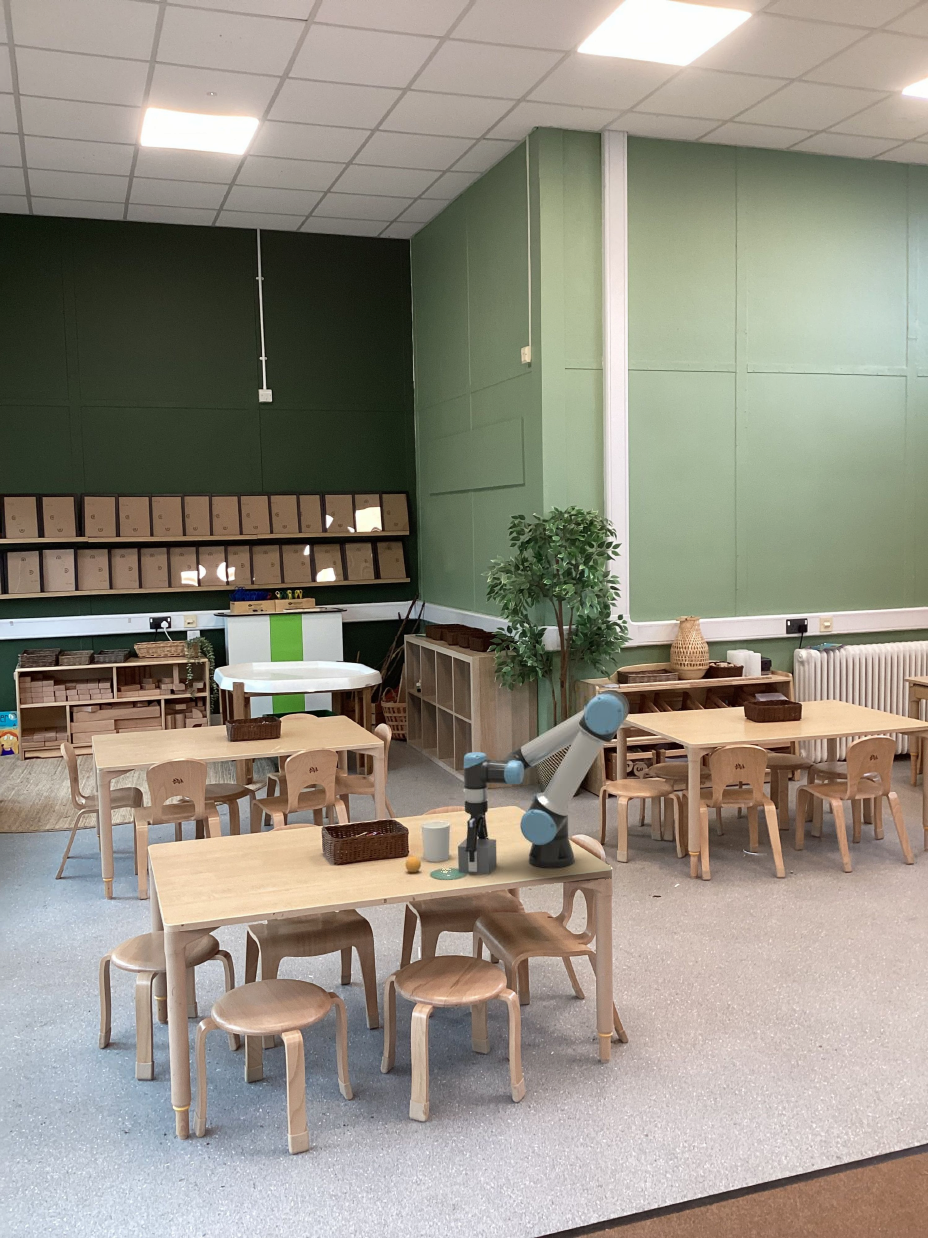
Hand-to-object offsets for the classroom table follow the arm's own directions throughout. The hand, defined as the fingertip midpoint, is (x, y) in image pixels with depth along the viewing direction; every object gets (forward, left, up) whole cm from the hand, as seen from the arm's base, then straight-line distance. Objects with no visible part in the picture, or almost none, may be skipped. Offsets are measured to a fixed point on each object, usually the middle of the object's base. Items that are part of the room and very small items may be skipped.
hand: (477, 866), depth 354 cm
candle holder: (+17, -9, -1) cm, 19 cm away
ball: (+20, +7, +1) cm, 21 cm away
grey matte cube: (0, 0, -1) cm, 1 cm away
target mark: (+8, +7, -1) cm, 11 cm away
